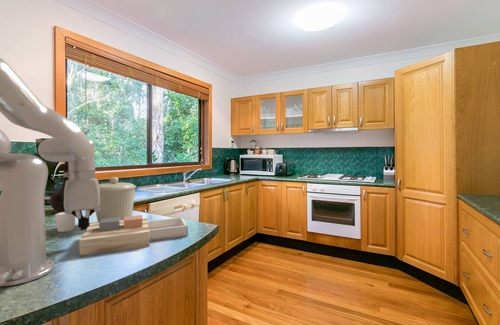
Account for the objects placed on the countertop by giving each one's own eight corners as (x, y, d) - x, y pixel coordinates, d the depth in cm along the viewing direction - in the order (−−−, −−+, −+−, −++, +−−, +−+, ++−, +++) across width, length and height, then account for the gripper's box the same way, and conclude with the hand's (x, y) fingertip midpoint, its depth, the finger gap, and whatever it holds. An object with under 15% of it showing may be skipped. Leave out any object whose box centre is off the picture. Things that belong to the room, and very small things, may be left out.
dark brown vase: (51, 216, 128) (49, 161, 127) (48, 210, 141) (47, 160, 140) (92, 210, 140) (91, 160, 139) (86, 205, 153) (84, 159, 152)
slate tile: (119, 229, 88) (119, 221, 88) (99, 231, 86) (99, 223, 86) (120, 225, 94) (120, 217, 94) (101, 227, 91) (101, 218, 91)
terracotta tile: (142, 226, 91) (142, 218, 91) (124, 229, 89) (123, 220, 89) (142, 222, 97) (142, 215, 97) (124, 224, 94) (124, 216, 94)
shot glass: (65, 232, 101) (64, 215, 101) (51, 231, 103) (50, 214, 102) (80, 227, 108) (79, 211, 108) (66, 226, 109) (66, 210, 109)
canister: (96, 220, 120) (95, 176, 119) (138, 216, 126) (137, 174, 125) (87, 231, 103) (85, 179, 102) (135, 226, 109) (134, 178, 108)
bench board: (149, 246, 86) (149, 231, 86) (79, 256, 78) (79, 240, 78) (147, 229, 104) (147, 217, 104) (90, 236, 96) (90, 223, 96)
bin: (187, 236, 96) (187, 225, 96) (149, 241, 91) (149, 230, 90) (181, 226, 109) (181, 217, 109) (148, 230, 103) (148, 220, 103)
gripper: (51, 177, 79) (54, 235, 80) (106, 175, 85) (107, 229, 86) (58, 175, 86) (60, 228, 87) (108, 174, 92) (110, 223, 93)
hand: (84, 229), depth 87 cm, fingers closed
